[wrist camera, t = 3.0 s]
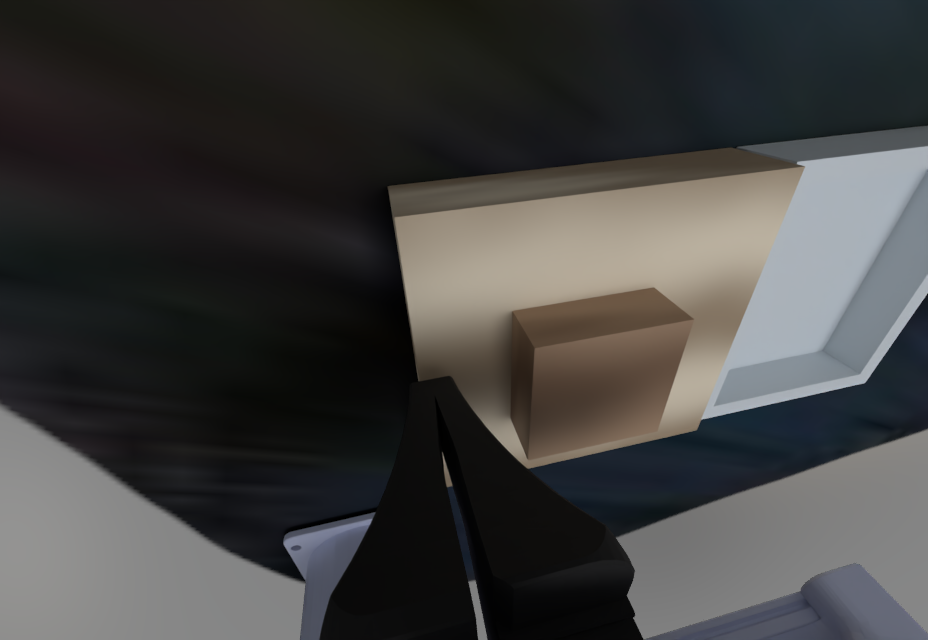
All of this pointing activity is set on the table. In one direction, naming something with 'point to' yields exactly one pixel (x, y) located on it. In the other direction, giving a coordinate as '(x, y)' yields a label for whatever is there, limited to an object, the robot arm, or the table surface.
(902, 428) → the table surface
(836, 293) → the box
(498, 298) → the plate
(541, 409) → the walnut tile
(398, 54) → the table surface
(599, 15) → the table surface
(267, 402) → the table surface
